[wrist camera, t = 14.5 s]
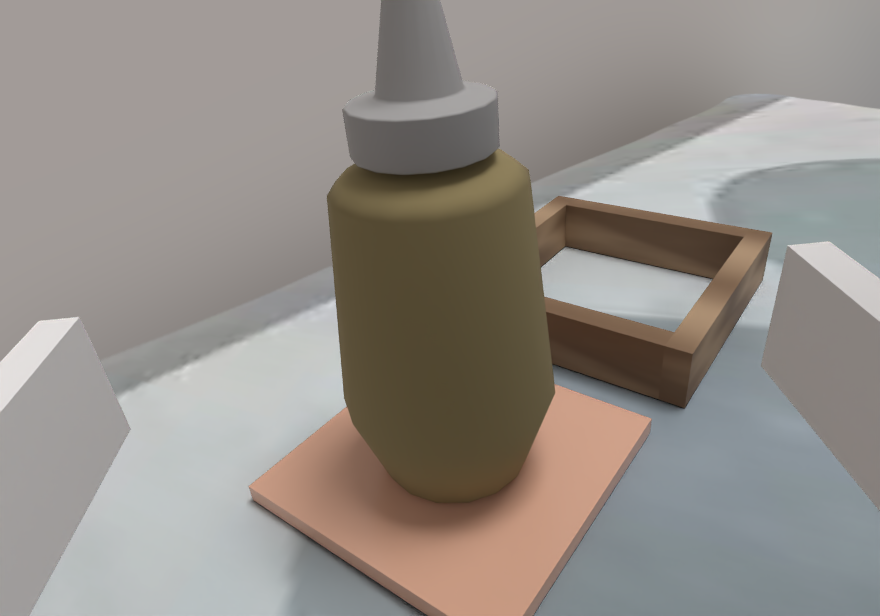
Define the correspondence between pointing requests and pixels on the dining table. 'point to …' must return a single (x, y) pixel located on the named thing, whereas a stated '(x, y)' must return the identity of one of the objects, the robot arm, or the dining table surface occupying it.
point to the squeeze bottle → (437, 272)
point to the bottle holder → (664, 245)
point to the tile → (459, 510)
